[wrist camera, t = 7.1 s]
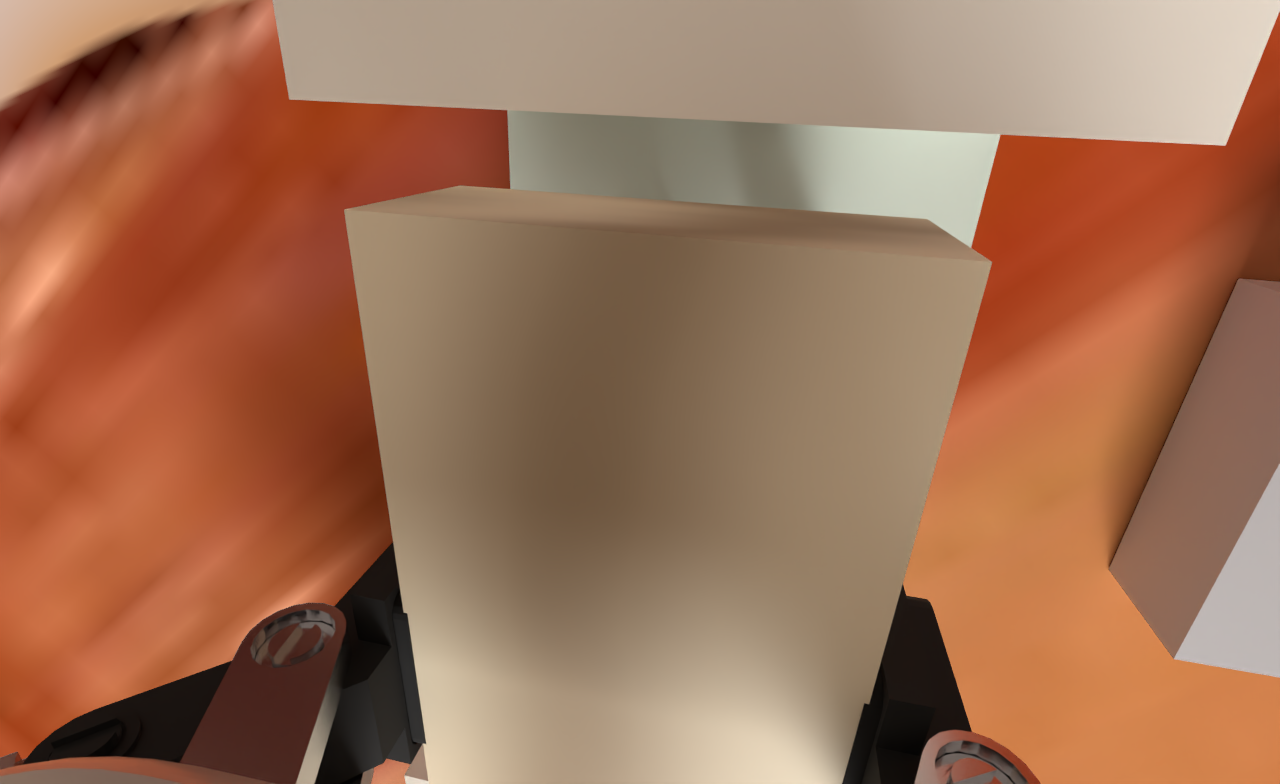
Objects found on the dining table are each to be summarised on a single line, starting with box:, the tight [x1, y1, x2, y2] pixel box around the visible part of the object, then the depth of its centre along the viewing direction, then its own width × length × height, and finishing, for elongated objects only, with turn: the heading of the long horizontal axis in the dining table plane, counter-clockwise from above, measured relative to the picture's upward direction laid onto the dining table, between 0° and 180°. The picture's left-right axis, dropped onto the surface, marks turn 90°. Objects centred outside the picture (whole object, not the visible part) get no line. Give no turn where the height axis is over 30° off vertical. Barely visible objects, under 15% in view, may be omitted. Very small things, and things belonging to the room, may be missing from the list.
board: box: [344, 186, 992, 784], centre depth 9 cm, size 6×13×2 cm, turn 177°
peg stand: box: [273, 0, 1280, 784], centre depth 15 cm, size 12×18×9 cm, turn 177°
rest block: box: [1109, 278, 1280, 677], centre depth 15 cm, size 3×9×4 cm, turn 178°
